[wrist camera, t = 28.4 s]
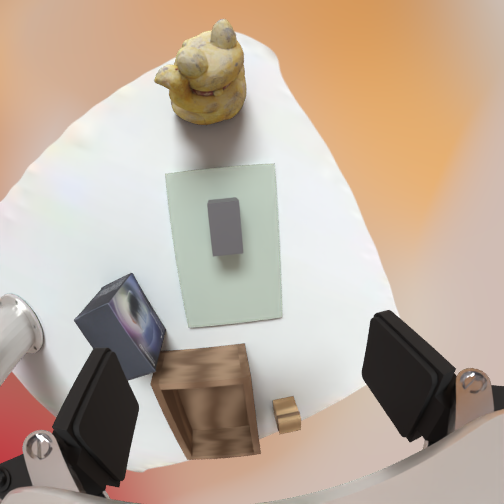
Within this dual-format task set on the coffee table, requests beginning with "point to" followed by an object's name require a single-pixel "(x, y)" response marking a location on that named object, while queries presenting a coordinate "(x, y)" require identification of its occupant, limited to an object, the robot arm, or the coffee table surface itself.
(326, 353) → the coffee table surface
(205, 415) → the open brown wooden box
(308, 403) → the coffee table surface
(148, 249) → the coffee table surface
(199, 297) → the lid
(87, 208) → the coffee table surface
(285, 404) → the wooden block
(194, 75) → the decorative figurine
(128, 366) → the small box
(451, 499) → the robot arm
